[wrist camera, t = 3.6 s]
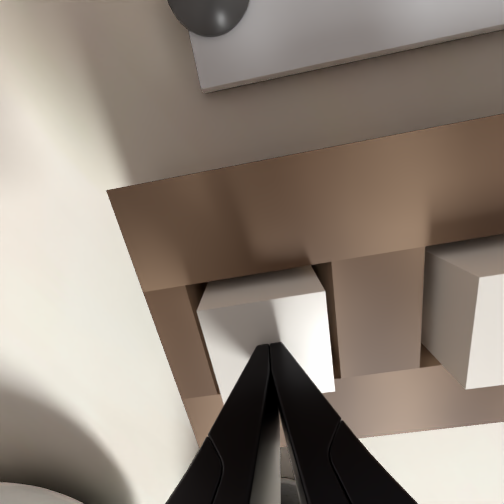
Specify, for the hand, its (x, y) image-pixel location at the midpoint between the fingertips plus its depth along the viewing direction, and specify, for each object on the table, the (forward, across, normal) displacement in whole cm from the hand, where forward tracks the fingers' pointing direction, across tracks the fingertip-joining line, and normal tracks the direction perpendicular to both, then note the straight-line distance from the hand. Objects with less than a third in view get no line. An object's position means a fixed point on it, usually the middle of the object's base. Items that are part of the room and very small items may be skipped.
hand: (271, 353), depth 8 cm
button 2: (+3, 0, 0) cm, 3 cm away
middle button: (+3, -8, 0) cm, 8 cm away
